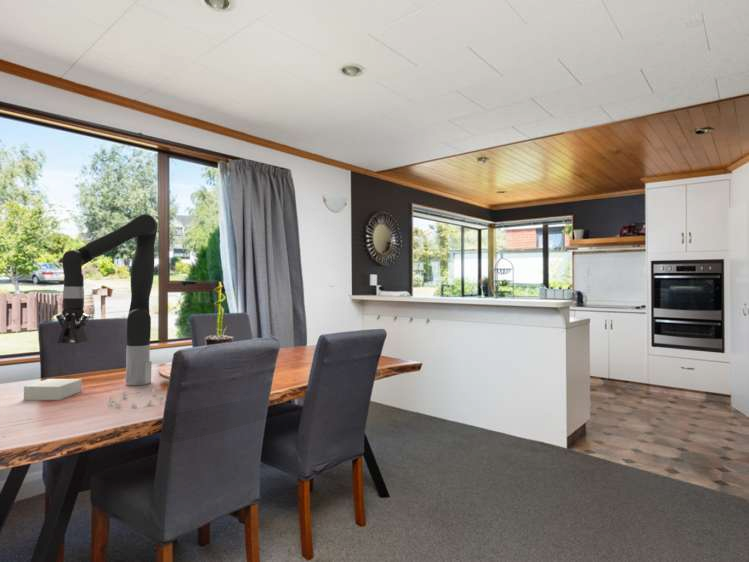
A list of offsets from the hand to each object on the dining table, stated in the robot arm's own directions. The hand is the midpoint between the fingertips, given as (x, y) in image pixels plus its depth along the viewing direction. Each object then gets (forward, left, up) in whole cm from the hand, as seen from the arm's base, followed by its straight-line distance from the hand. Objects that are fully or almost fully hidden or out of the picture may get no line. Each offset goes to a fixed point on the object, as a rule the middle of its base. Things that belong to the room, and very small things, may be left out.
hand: (72, 337), depth 193 cm
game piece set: (-38, +22, -22) cm, 49 cm away
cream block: (-2, +14, -21) cm, 25 cm away
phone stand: (0, 0, -2) cm, 2 cm away
